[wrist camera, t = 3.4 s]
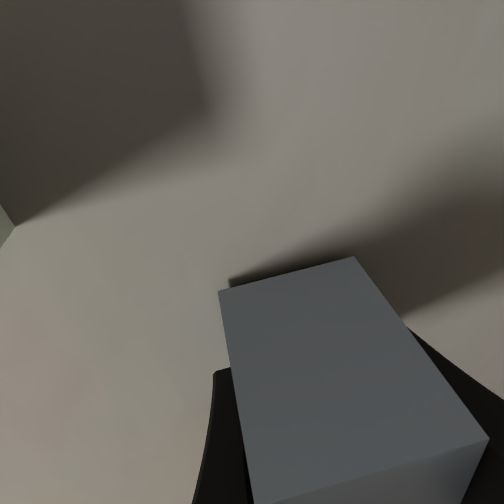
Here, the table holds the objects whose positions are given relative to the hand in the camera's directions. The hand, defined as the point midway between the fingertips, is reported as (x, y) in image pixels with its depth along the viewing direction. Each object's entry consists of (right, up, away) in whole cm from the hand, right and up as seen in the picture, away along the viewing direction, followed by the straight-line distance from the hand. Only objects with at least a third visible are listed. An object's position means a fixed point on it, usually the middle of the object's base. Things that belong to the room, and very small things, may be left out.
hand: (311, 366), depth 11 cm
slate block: (0, +1, +2) cm, 2 cm away
